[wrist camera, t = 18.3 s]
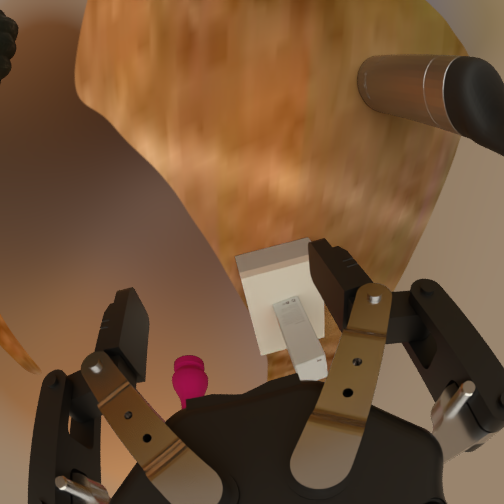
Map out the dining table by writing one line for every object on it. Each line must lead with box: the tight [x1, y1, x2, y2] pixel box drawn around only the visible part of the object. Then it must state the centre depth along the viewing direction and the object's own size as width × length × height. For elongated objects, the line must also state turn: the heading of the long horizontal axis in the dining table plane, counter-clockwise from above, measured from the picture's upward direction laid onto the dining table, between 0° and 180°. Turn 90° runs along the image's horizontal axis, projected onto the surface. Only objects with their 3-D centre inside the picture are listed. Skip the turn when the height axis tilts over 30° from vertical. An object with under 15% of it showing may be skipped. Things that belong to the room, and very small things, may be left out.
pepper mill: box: [172, 355, 208, 409], centre depth 49 cm, size 7×7×20 cm
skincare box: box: [273, 296, 328, 381], centre depth 41 cm, size 6×4×12 cm
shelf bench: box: [235, 237, 324, 355], centre depth 48 cm, size 12×18×6 cm, turn 10°
